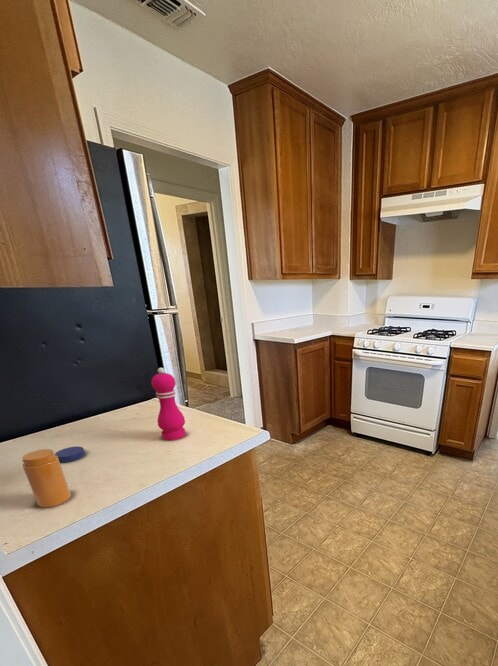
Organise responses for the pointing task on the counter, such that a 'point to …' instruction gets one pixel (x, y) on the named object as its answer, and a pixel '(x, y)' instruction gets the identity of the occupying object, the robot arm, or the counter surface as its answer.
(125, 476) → the counter surface
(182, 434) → the pepper mill
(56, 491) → the jar
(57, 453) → the jar lid
